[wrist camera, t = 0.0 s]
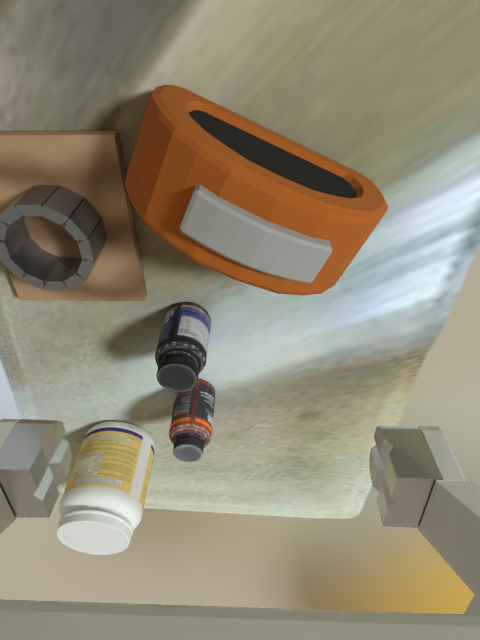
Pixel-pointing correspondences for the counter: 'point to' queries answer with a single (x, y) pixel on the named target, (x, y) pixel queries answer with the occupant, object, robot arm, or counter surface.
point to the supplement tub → (106, 488)
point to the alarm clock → (247, 196)
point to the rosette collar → (30, 259)
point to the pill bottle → (182, 346)
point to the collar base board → (96, 186)
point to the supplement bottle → (192, 421)
